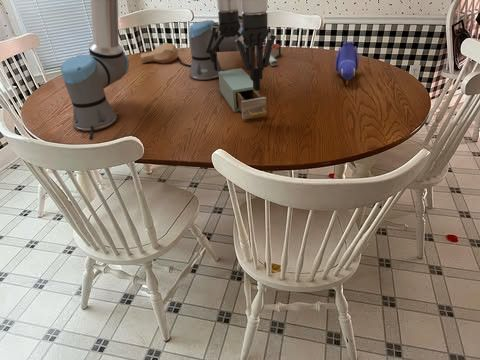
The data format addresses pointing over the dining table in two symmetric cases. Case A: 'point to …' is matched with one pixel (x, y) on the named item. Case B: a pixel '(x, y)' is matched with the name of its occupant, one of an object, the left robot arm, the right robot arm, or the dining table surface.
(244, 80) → the cabinet
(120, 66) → the left robot arm
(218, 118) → the dining table surface
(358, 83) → the dining table surface
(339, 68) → the toy
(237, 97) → the drawer
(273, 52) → the tape dispenser
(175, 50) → the squash
